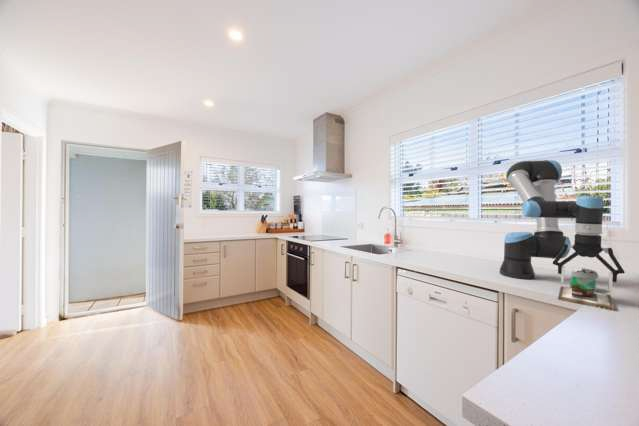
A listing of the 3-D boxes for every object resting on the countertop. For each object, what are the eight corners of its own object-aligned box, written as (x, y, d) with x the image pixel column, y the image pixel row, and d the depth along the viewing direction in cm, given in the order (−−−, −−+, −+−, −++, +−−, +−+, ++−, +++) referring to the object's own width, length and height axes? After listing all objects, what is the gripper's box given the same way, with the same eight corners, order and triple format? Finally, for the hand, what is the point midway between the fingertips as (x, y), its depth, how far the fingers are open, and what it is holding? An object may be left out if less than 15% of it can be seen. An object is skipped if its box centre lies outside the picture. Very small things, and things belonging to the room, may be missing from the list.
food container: (591, 300, 100) (592, 275, 99) (570, 295, 105) (571, 271, 105) (601, 295, 106) (603, 271, 106) (581, 290, 111) (582, 267, 111)
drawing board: (558, 299, 104) (558, 296, 104) (560, 288, 118) (560, 285, 118) (614, 310, 94) (614, 307, 94) (609, 297, 108) (610, 294, 108)
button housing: (570, 288, 119) (570, 281, 119) (570, 284, 125) (570, 278, 124) (595, 292, 113) (595, 285, 113) (594, 288, 119) (595, 281, 119)
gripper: (546, 232, 111) (544, 280, 112) (637, 238, 93) (634, 296, 94) (547, 230, 116) (545, 277, 117) (634, 236, 99) (631, 291, 99)
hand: (585, 285), depth 106 cm, fingers open, 13 cm apart
